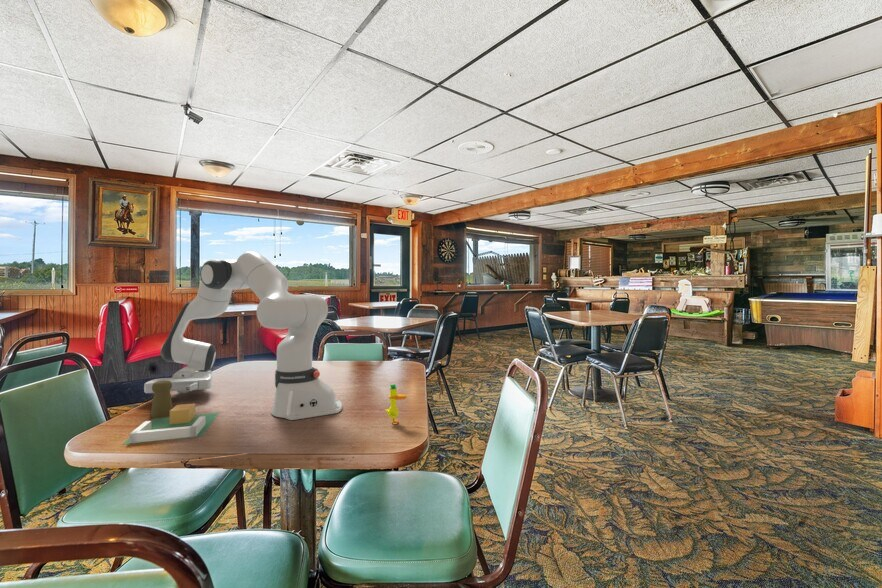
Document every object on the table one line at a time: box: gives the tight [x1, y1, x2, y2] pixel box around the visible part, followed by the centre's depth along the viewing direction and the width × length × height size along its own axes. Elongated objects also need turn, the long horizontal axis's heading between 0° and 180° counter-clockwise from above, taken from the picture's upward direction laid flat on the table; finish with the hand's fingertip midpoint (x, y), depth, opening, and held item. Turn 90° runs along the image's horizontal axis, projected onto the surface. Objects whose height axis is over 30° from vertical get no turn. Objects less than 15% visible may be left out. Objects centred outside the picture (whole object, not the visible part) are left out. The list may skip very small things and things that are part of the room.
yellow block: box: [169, 403, 196, 424], centre depth 114 cm, size 5×6×4 cm
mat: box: [121, 412, 220, 446], centre depth 109 cm, size 18×20×1 cm
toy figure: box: [384, 383, 408, 424], centre depth 114 cm, size 7×4×12 cm, turn 92°
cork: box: [150, 380, 174, 419], centre depth 119 cm, size 6×6×11 cm
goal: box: [128, 416, 206, 444], centre depth 104 cm, size 15×10×2 cm, turn 109°
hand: (172, 389), depth 127 cm, fingers open, 8 cm apart
